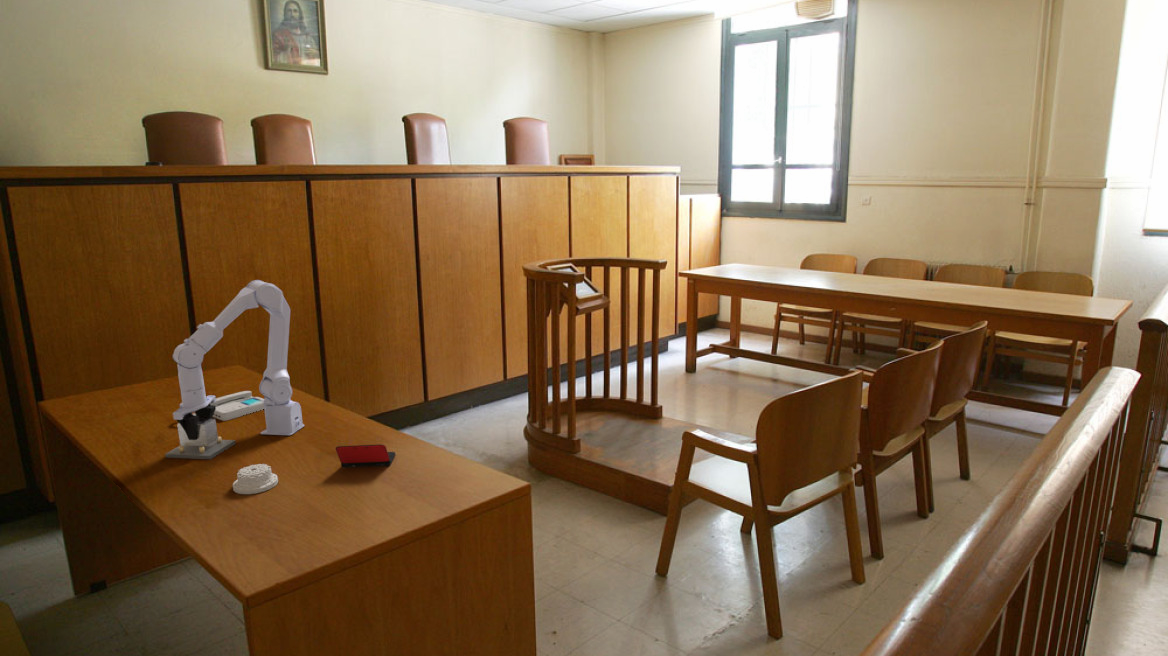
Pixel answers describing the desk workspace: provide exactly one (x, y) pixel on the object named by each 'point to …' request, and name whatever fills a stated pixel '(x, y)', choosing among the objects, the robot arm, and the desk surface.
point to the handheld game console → (364, 455)
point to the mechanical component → (255, 479)
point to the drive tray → (201, 450)
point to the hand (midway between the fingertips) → (199, 435)
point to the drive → (200, 433)
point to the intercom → (236, 405)
